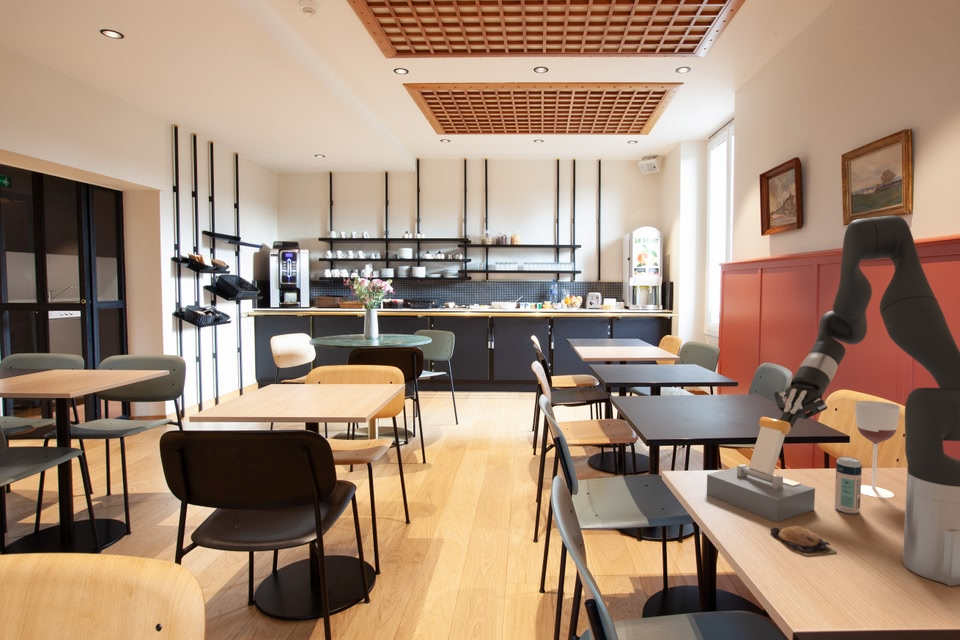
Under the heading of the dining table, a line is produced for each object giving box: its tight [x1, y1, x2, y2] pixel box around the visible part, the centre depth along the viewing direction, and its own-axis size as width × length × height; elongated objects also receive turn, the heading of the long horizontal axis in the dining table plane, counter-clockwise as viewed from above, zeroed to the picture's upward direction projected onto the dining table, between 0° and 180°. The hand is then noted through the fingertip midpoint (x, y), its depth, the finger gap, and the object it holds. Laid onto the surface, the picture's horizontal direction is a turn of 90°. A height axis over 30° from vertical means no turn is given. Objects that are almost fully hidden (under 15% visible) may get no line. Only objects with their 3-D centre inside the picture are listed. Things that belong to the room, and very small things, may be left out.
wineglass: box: [854, 400, 901, 499], centre depth 133 cm, size 9×10×22 cm
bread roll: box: [769, 525, 838, 558], centre depth 107 cm, size 11×8×4 cm
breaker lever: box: [744, 416, 792, 483], centre depth 128 cm, size 3×7×15 cm, turn 29°
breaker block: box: [706, 463, 816, 523], centre depth 127 cm, size 14×18×8 cm
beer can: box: [834, 456, 863, 515], centre depth 122 cm, size 5×5×12 cm
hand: (783, 427), depth 130 cm, fingers closed
